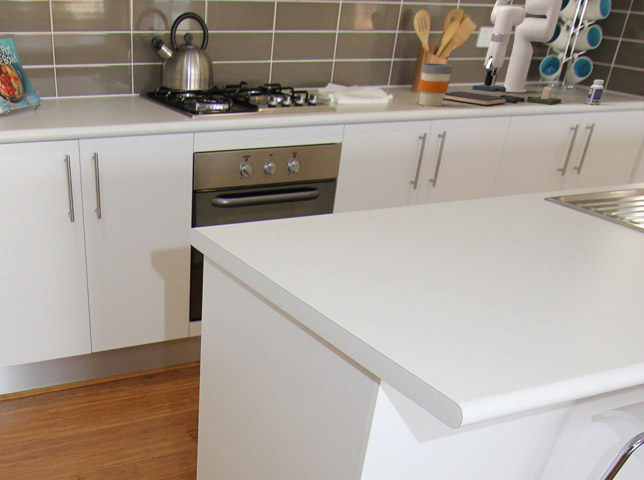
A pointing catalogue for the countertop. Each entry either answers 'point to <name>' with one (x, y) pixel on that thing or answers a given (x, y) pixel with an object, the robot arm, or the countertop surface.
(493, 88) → the slate tile
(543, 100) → the olive tile
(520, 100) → the base tile
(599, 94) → the pill bottle
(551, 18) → the robot arm
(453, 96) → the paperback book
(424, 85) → the reusable coffee cup
